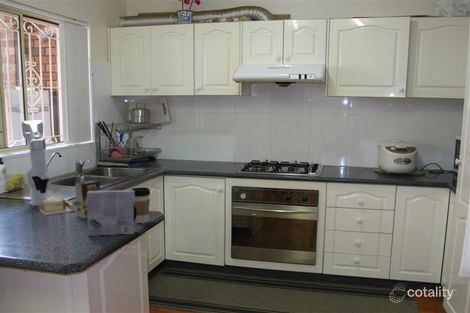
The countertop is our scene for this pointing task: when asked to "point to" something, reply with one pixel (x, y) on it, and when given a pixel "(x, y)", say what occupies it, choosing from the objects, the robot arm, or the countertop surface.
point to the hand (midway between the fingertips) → (41, 191)
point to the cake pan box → (111, 212)
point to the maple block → (54, 204)
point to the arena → (68, 208)
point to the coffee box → (84, 195)
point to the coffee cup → (142, 204)
